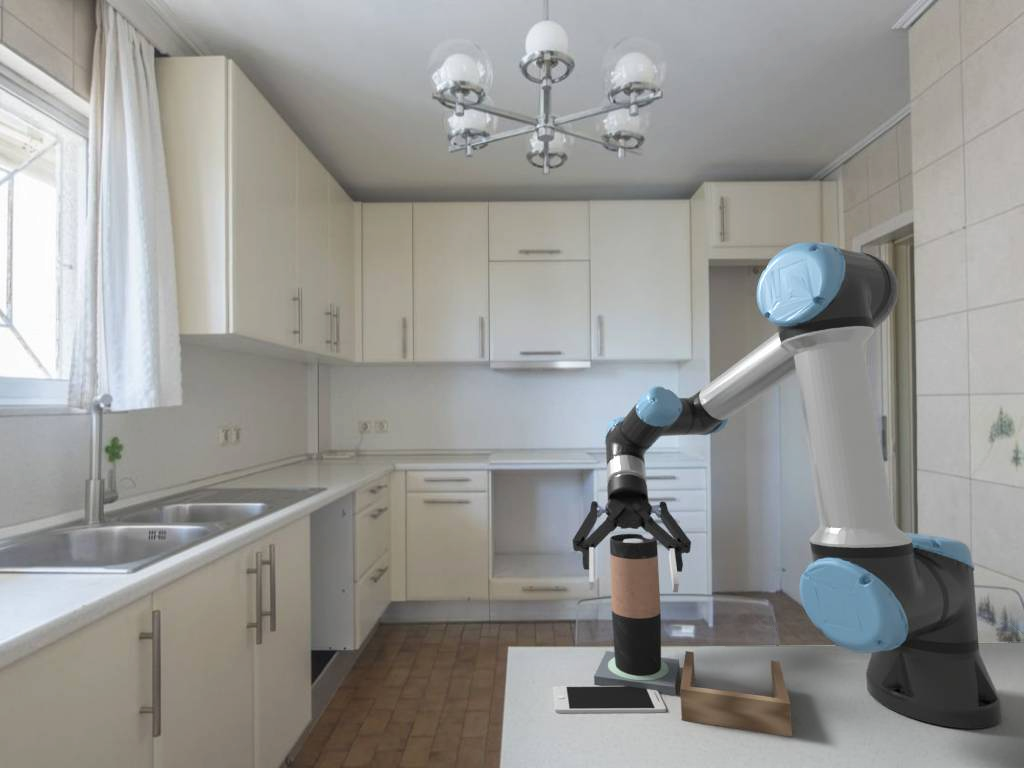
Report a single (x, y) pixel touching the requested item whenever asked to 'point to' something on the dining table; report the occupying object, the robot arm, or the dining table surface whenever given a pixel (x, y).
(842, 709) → the dining table surface
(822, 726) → the dining table surface
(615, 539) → the travel mug
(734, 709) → the mug cradle
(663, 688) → the dock pad
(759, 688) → the dining table surface
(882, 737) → the dining table surface
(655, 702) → the smartphone
